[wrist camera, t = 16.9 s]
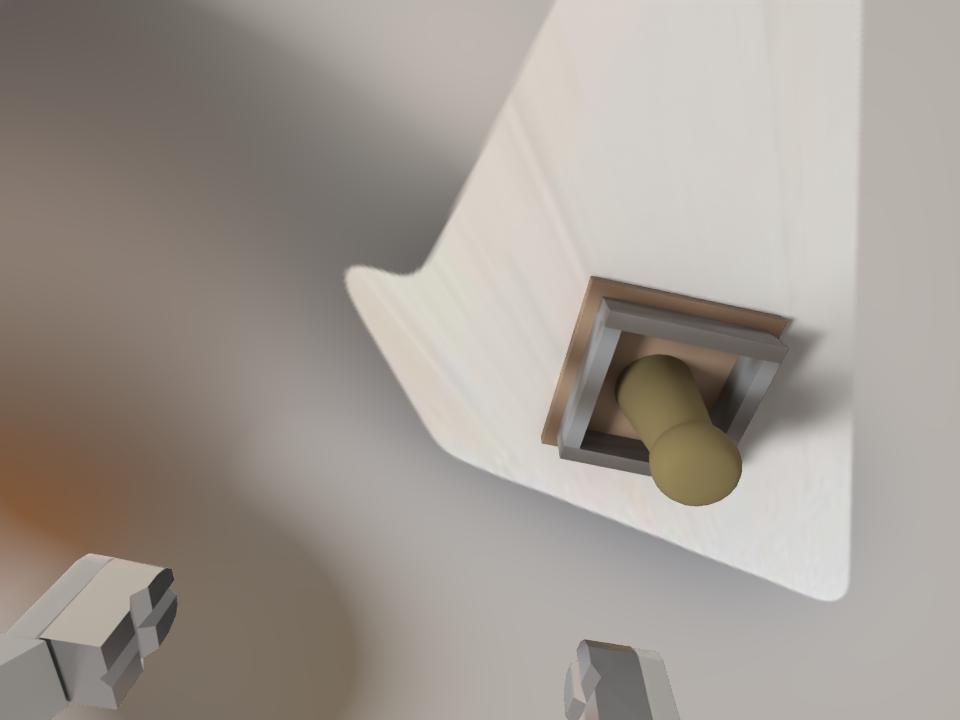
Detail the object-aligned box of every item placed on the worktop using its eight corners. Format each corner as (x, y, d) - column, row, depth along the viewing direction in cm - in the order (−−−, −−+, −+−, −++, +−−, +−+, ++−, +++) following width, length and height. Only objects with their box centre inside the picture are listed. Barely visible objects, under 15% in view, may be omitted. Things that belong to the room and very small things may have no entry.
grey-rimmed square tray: (590, 276, 35) (600, 293, 32) (780, 316, 36) (810, 337, 32) (541, 436, 42) (544, 465, 38) (703, 468, 42) (721, 500, 39)
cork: (650, 339, 36) (702, 421, 26) (711, 380, 37) (783, 472, 28) (598, 397, 39) (628, 492, 29) (657, 434, 40) (705, 536, 30)
